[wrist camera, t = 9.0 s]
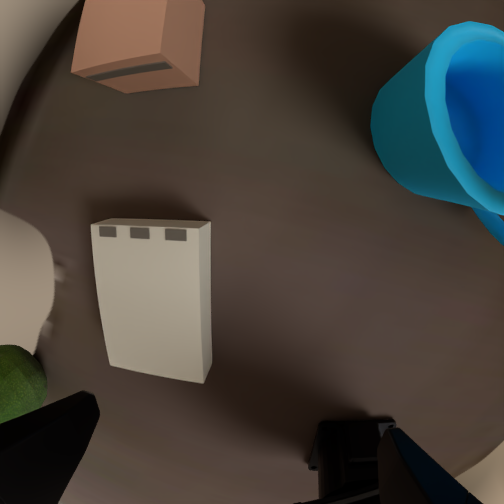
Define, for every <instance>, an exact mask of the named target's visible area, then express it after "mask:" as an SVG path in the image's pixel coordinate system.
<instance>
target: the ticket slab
mask: <svg viewBox="0 0 504 504" xmlns="http://www.w3.org/2000/svg"><path fill="white" fill-rule="evenodd" d="M91 237H92V250H93V261H94V270H95V279H96V287H97V295H98V302H99V309H100V315H101V321H102V327H103V332H104V338H105V343H106V348H107V353H108V358H109V363H110V365H111V366H115V367H120V368H124V369H128V370H133V371H137V372H142V373H147V374H151V375H157V376H162V377H167V378H173V379H178V380H184V381H190V382H197V383H203V384H204V382H205V379H206V377H207V374H208V372H209V370H210V367H211V365H212V334H211V221H189V220H161V219H127V218H110V219H107V220H103V221H100V222H97V223H94V224H91Z"/></svg>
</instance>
